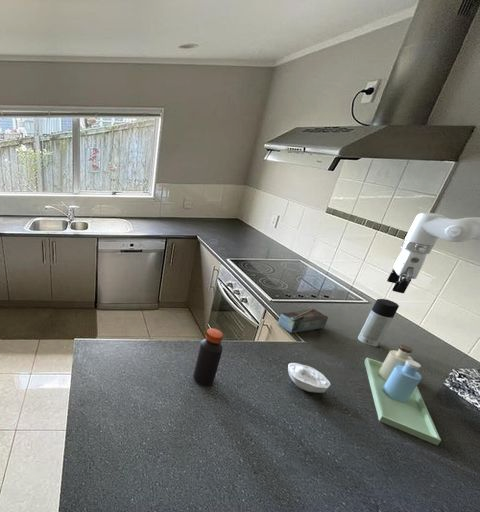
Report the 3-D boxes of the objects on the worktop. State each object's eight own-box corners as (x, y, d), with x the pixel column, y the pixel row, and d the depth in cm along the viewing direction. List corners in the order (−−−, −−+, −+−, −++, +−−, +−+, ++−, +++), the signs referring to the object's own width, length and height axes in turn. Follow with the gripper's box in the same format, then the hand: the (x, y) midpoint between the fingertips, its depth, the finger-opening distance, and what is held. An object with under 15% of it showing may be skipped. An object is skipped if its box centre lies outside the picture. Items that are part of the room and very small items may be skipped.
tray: (407, 377, 102) (410, 372, 101) (436, 446, 78) (441, 440, 77) (363, 362, 108) (366, 357, 107) (378, 422, 85) (381, 416, 84)
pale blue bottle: (404, 393, 95) (424, 362, 89) (409, 405, 90) (430, 373, 85) (380, 384, 98) (398, 353, 92) (384, 395, 93) (403, 364, 88)
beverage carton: (276, 323, 130) (280, 311, 128) (309, 318, 135) (313, 307, 132) (290, 333, 123) (295, 321, 121) (324, 328, 127) (330, 316, 125)
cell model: (323, 405, 90) (331, 390, 87) (280, 384, 97) (286, 369, 94) (326, 386, 97) (334, 372, 94) (286, 368, 104) (292, 354, 101)
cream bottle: (398, 376, 101) (416, 346, 96) (402, 387, 97) (421, 356, 92) (376, 368, 105) (392, 339, 99) (379, 378, 100) (396, 348, 95)
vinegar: (196, 368, 102) (206, 323, 94) (215, 377, 98) (228, 331, 91) (190, 380, 97) (201, 334, 89) (210, 390, 93) (223, 342, 86)
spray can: (382, 347, 117) (404, 307, 109) (366, 347, 117) (387, 306, 109) (368, 337, 123) (388, 298, 115) (353, 336, 123) (372, 297, 115)
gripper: (439, 256, 94) (414, 299, 101) (423, 242, 107) (402, 281, 114) (408, 250, 98) (386, 292, 105) (397, 238, 111) (378, 276, 118)
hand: (394, 287), depth 110 cm, fingers open, 9 cm apart
